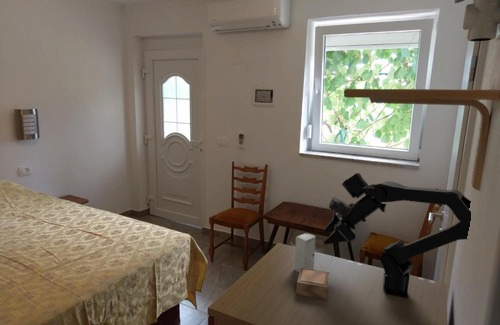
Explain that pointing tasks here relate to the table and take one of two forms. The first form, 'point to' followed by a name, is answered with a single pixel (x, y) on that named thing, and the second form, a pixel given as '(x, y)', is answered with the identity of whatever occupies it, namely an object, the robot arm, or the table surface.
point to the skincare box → (304, 252)
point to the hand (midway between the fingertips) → (324, 237)
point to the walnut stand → (313, 283)
